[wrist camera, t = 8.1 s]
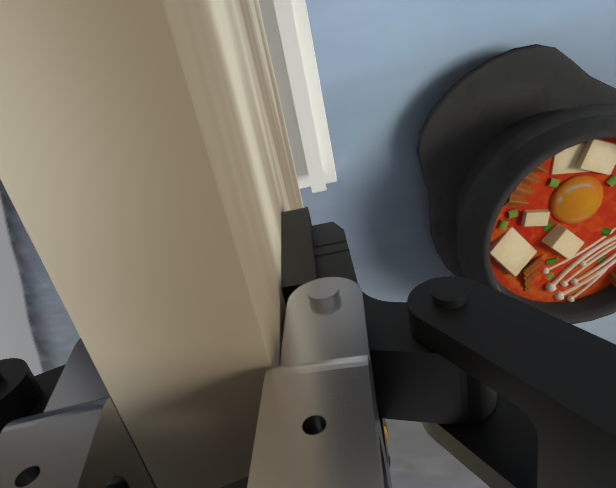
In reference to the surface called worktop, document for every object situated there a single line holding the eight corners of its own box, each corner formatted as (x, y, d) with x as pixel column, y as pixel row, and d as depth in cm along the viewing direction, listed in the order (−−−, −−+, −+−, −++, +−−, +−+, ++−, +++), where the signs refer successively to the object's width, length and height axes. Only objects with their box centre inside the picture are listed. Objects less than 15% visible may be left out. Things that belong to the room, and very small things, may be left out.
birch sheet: (255, -16, 20) (148, -45, 4) (311, 244, 25) (363, 674, 9) (206, -5, 20) (-87, 9, 4) (273, 251, 26) (259, 690, 10)
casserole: (692, 231, 44) (777, 280, 36) (507, 342, 49) (548, 406, 41) (572, -20, 34) (653, -23, 27) (356, 148, 39) (373, 185, 32)
